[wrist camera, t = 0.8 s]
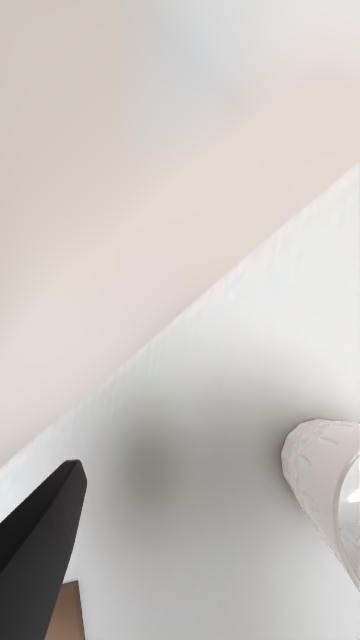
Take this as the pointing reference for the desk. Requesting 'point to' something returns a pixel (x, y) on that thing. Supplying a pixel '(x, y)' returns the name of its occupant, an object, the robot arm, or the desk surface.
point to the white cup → (328, 484)
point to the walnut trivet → (67, 615)
